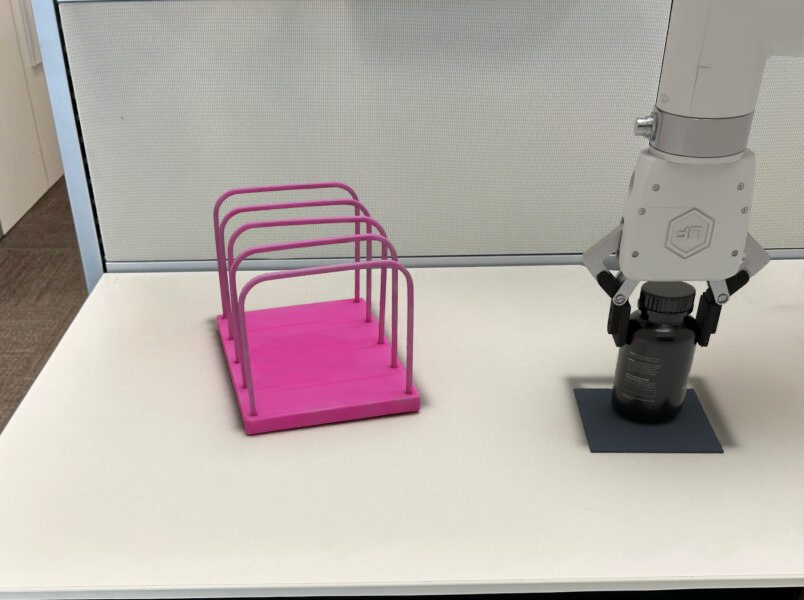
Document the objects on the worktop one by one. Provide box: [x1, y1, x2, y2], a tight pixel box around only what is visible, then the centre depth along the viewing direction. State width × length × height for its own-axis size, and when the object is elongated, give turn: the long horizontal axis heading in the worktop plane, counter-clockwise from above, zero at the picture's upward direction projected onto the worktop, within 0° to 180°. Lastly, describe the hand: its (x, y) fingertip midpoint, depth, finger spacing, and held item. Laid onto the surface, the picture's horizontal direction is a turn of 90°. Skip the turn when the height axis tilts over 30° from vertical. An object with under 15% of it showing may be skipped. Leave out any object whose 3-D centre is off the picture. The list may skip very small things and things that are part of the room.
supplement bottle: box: [611, 281, 699, 423], centre depth 87 cm, size 7×7×12 cm
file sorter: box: [212, 181, 421, 435], centre depth 94 cm, size 17×25×16 cm
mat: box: [573, 387, 725, 454], centre depth 89 cm, size 12×12×1 cm
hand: (658, 339), depth 86 cm, fingers closed on supplement bottle, 6 cm apart
